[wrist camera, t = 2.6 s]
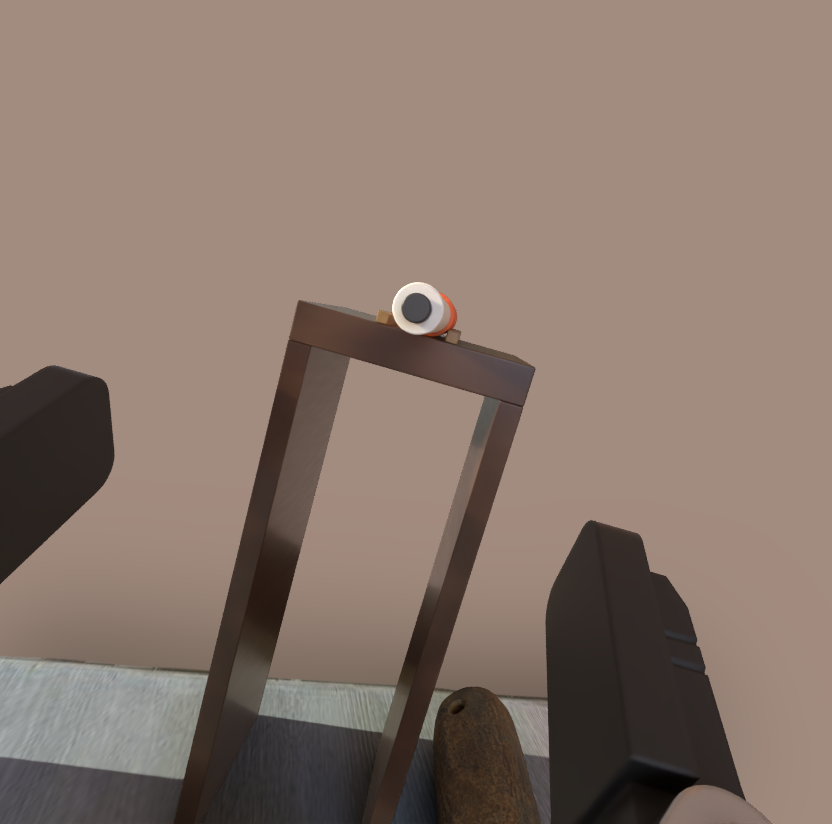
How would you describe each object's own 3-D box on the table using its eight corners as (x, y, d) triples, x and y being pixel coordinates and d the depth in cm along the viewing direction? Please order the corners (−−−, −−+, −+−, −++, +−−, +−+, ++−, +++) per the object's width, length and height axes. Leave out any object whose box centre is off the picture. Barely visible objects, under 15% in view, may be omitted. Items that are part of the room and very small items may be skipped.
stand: (169, 838, 33) (300, 287, 27) (243, 711, 44) (347, 298, 38) (366, 903, 32) (539, 355, 27) (391, 758, 43) (518, 347, 38)
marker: (415, 319, 36) (437, 292, 36) (441, 341, 36) (464, 314, 36) (369, 312, 19) (412, 259, 18) (420, 355, 19) (462, 303, 18)
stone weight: (410, 741, 45) (433, 669, 44) (491, 754, 46) (515, 684, 45) (437, 953, 31) (471, 853, 30) (554, 965, 32) (592, 869, 31)
